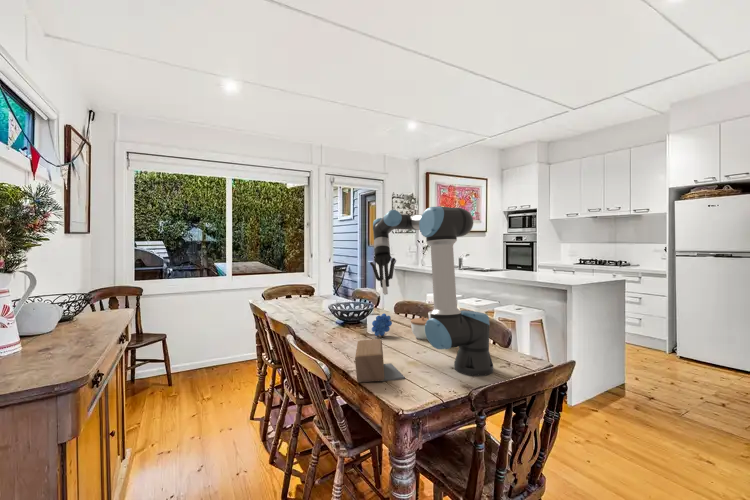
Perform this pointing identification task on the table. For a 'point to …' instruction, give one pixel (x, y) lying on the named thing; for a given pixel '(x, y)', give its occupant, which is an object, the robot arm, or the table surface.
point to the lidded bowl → (419, 327)
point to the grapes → (381, 324)
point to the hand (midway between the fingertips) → (385, 293)
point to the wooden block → (369, 360)
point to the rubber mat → (391, 373)
